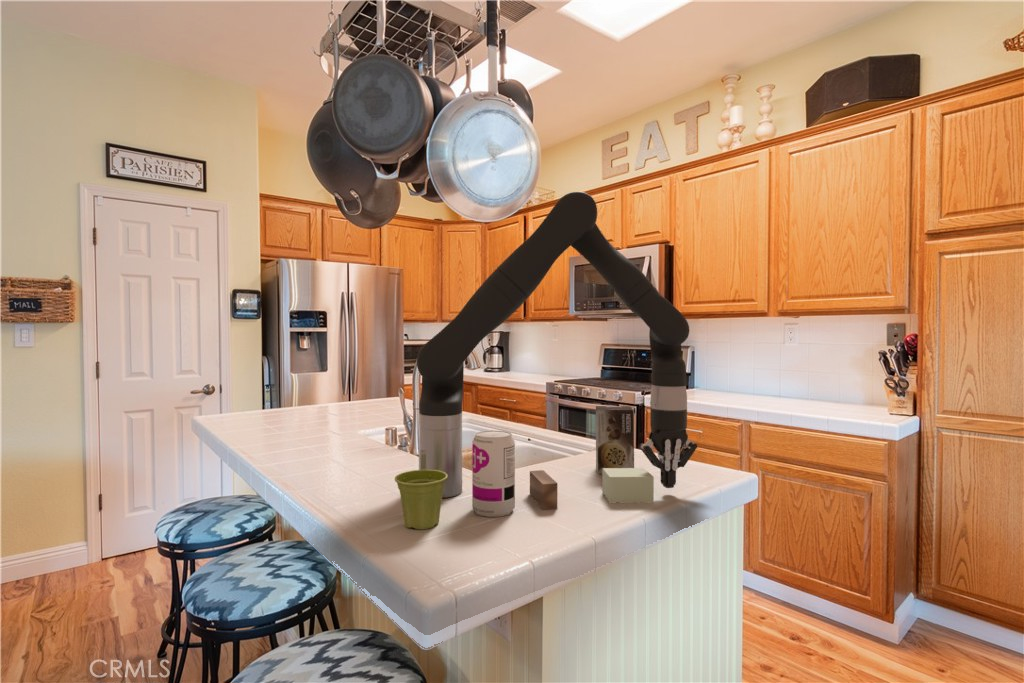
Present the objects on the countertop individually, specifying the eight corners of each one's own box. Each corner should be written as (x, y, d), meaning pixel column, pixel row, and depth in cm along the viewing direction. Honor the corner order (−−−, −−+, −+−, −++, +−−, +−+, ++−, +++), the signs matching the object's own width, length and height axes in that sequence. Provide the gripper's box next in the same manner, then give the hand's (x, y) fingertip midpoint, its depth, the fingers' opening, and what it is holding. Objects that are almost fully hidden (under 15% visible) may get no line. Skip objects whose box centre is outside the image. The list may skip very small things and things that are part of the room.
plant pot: (400, 537, 86) (400, 486, 86) (390, 519, 95) (390, 472, 95) (454, 529, 90) (454, 480, 90) (439, 512, 99) (439, 467, 99)
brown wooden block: (542, 509, 100) (542, 484, 100) (529, 494, 110) (529, 470, 110) (557, 508, 101) (557, 483, 101) (543, 493, 111) (543, 470, 111)
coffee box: (631, 468, 131) (631, 405, 131) (634, 475, 125) (634, 409, 125) (595, 467, 132) (595, 405, 132) (596, 474, 126) (597, 408, 126)
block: (609, 504, 104) (609, 477, 104) (602, 493, 111) (602, 468, 111) (653, 503, 105) (653, 476, 105) (643, 493, 112) (643, 467, 112)
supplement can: (483, 521, 94) (483, 439, 94) (465, 507, 101) (466, 431, 101) (522, 514, 98) (522, 435, 98) (502, 501, 105) (502, 428, 105)
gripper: (648, 409, 105) (648, 494, 105) (706, 407, 108) (706, 490, 108) (632, 405, 112) (631, 484, 112) (686, 403, 115) (686, 480, 115)
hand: (668, 486), depth 110 cm, fingers closed
